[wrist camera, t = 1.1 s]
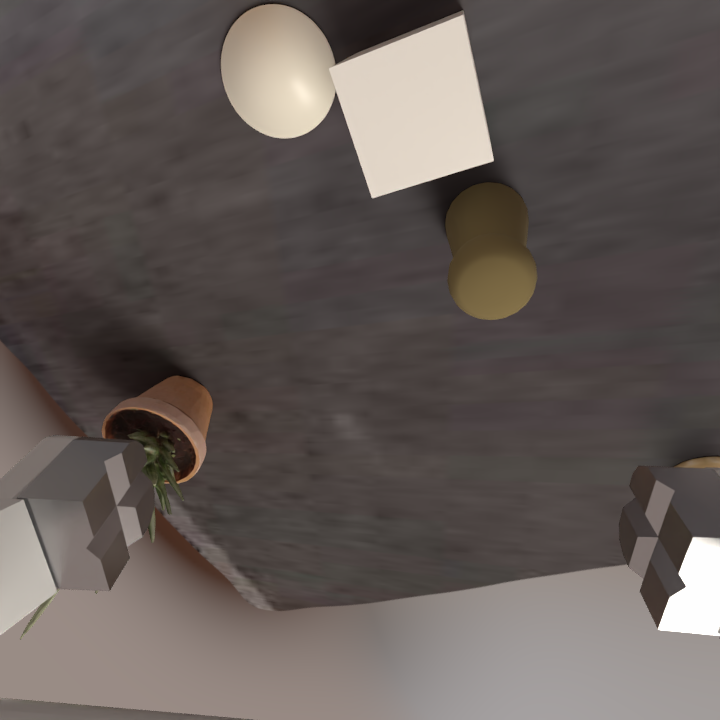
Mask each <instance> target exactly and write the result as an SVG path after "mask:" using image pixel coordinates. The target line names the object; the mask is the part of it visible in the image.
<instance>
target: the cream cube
mask: <svg viewBox="0 0 720 720" xmlns="http://www.w3.org/2000/svg"><path fill="white" fill-rule="evenodd" d="M329 71H330V74H331V77H332V80H333V83H334V86H335V89H336V92H337V95H338V98H339V101H340V104H341V107H342V110H343V113H344V116H345V119H346V122H347V125H348V128H349V131H350V134H351V137H352V140H353V143H354V146H355V149H356V152H357V155H358V158H359V161H360V164H361V167H362V170H363V173H364V176H365V179H366V182H367V185H368V187H369V190H370V193H371V196H372V198H375V197H378V196H381V195H384V194H388V193H391V192H394V191H398V190H401V189H404V188H407V187H411V186H414V185H417V184H420V183H424V182H427V181H430V180H434V179H437V178H440V177H443V176H447V175H450V174H453V173H456V172H460V171H463V170H466V169H469V168H473V167H476V166H479V165H483V164H486V163H489V162H492V161H494V158H493V153H492V147H491V142H490V136H489V131H488V126H487V121H486V116H485V111H484V106H483V102H482V97H481V92H480V87H479V82H478V77H477V73H476V68H475V63H474V58H473V53H472V49H471V44H470V39H469V34H468V29H467V25H466V20H465V15H464V10H462V11H460V12H457V13H455V14H452V15H450V16H447V17H445V18H442V19H440V20H437V21H435V22H432V23H430V24H427V25H425V26H422V27H420V28H417V29H415V30H412V31H410V32H407V33H405V34H402V35H400V36H397V37H395V38H392V39H390V40H388V41H385V42H383V43H380V44H378V45H375V46H373V47H370V48H368V49H365V50H363V51H360V52H358V53H356V54H354V55H352V56H350V57H348V58H347V59H345V60H343V61H341V62H339V63H337V64H336V65H334V66H332V67H330V68H329Z"/></svg>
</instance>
